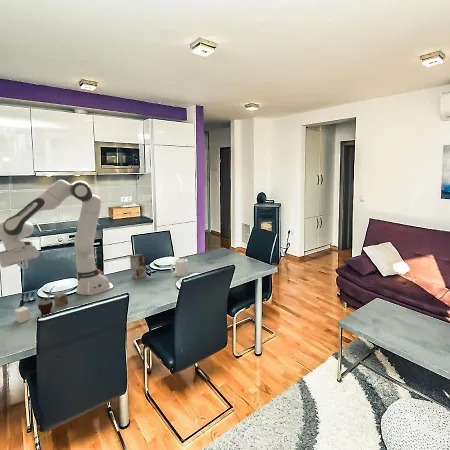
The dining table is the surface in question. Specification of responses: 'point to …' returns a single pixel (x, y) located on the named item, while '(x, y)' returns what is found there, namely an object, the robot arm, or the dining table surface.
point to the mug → (180, 267)
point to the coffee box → (138, 265)
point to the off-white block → (22, 314)
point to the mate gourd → (45, 305)
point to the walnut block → (60, 299)
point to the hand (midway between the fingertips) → (25, 268)
